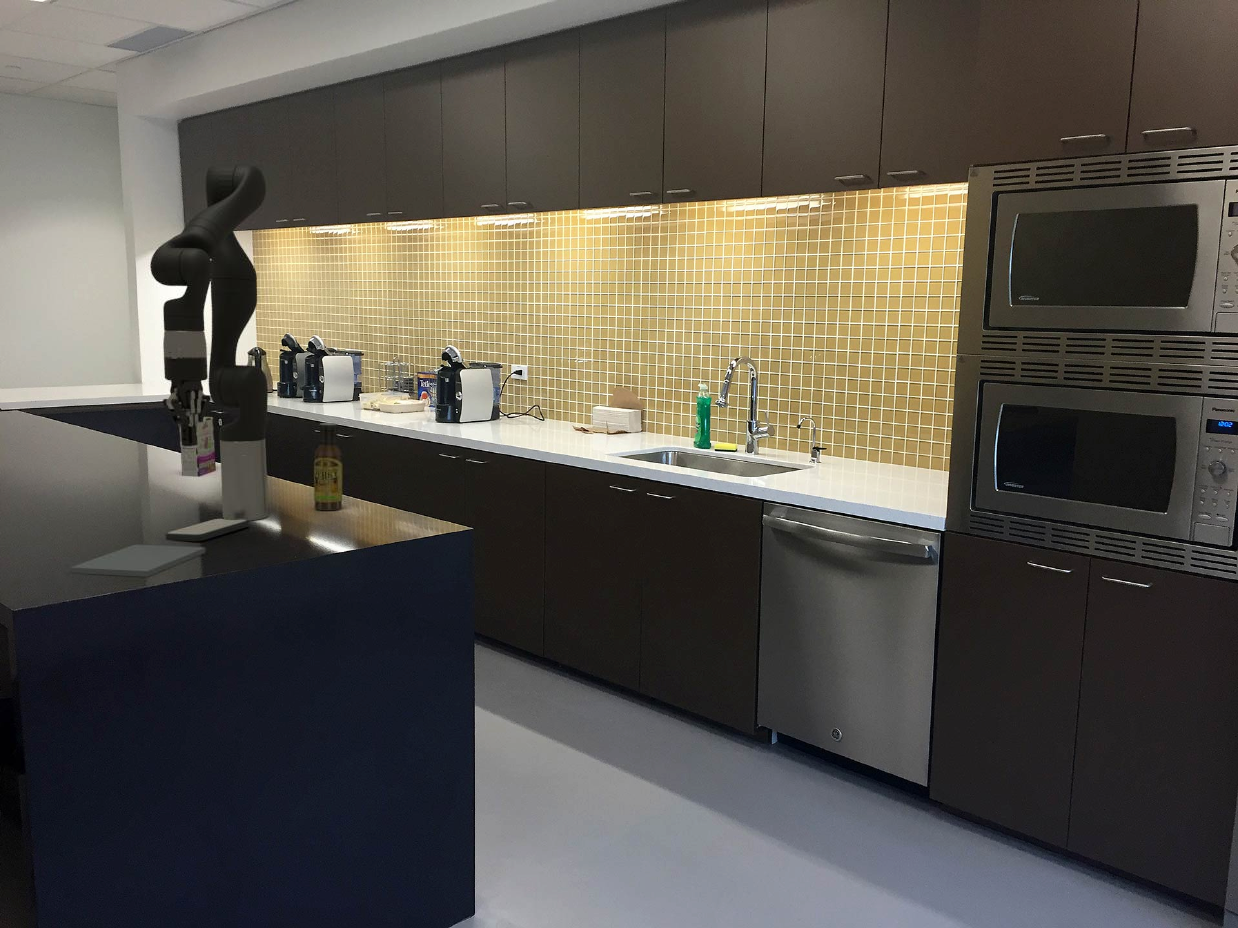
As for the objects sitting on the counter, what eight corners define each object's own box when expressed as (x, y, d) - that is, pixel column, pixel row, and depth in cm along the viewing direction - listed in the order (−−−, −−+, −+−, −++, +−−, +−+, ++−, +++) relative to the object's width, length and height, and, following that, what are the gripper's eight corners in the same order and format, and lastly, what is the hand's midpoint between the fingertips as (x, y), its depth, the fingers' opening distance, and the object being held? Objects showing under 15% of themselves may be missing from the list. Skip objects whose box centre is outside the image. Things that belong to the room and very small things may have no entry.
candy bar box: (198, 475, 275) (196, 416, 272) (216, 475, 275) (214, 416, 272) (180, 481, 264) (177, 420, 261) (199, 481, 264) (196, 420, 261)
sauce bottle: (311, 511, 224) (308, 424, 221) (318, 506, 230) (316, 422, 228) (339, 511, 224) (337, 425, 222) (346, 506, 231) (344, 422, 228)
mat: (135, 549, 184) (135, 544, 184) (205, 552, 183) (205, 547, 182) (70, 573, 167) (70, 567, 166) (147, 576, 165) (147, 571, 165)
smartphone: (200, 543, 190) (252, 526, 206) (199, 535, 190) (252, 519, 205) (162, 541, 193) (216, 525, 208) (161, 533, 192) (216, 518, 208)
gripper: (186, 354, 193) (190, 441, 196) (146, 355, 180) (150, 449, 183) (222, 355, 192) (225, 442, 195) (184, 356, 179) (188, 450, 182)
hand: (189, 445), depth 189 cm, fingers closed
